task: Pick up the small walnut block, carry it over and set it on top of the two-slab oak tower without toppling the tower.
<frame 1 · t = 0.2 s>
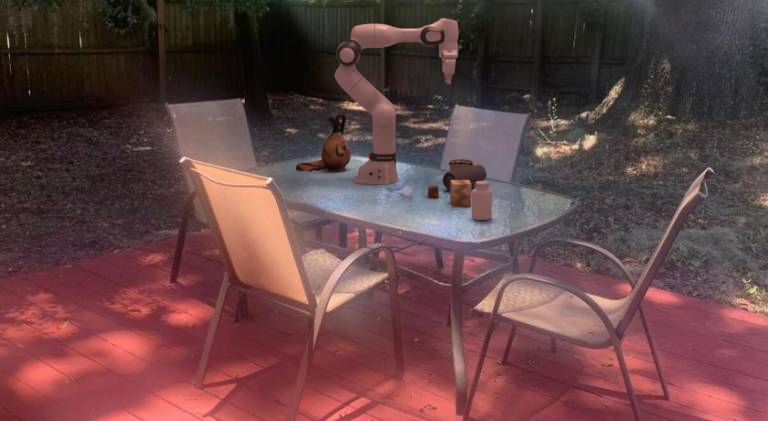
hand: (447, 83, 325), 48 cm above the table, tool pointing down, fingers open, 8 cm apart
pill bottle: (481, 219, 274), on the table
tower top: (460, 193, 294), point 5 cm above the table, touching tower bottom
sunglasses case: (314, 170, 366), on the table
brown half-round wedge: (460, 180, 338), on the table
ceramic jug: (337, 170, 363), on the table
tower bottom: (460, 204, 295), on the table, touching tower top
walnut block: (433, 197, 307), on the table
bluetooth speaker: (464, 188, 323), on the table
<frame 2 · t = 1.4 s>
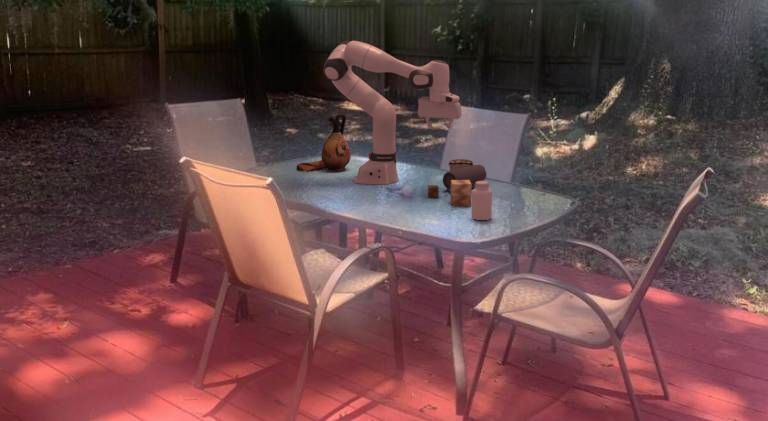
hand: (439, 127, 310), 30 cm above the table, tool pointing down, fingers open, 8 cm apart
nothing on the table moved.
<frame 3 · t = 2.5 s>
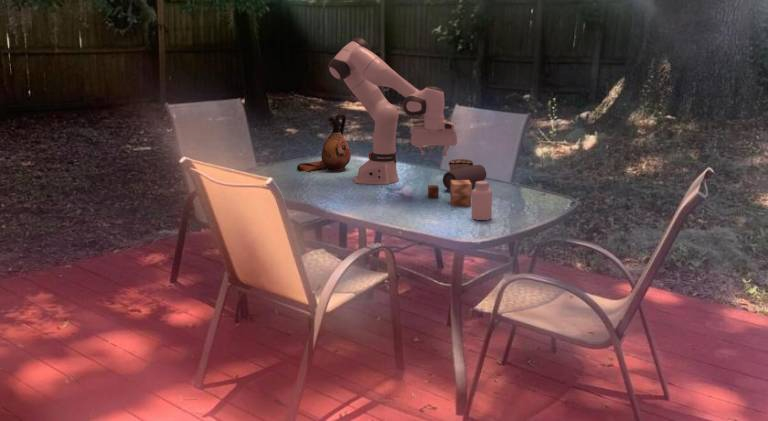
hand: (433, 155, 301), 19 cm above the table, tool pointing down, fingers open, 8 cm apart
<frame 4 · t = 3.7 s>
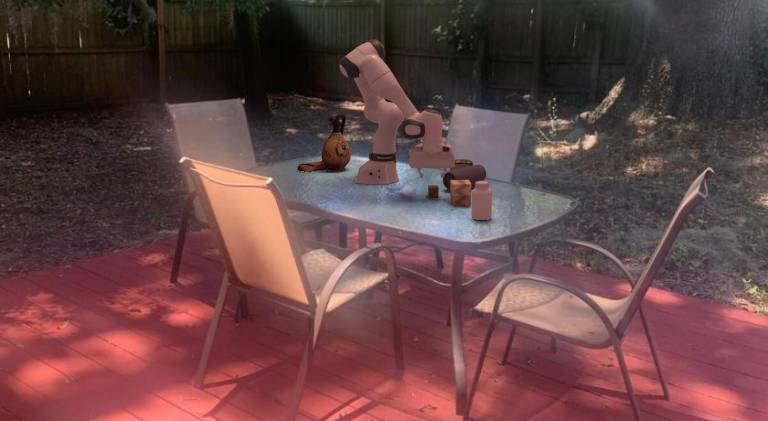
hand: (432, 177, 304), 9 cm above the table, tool pointing down, fingers open, 8 cm apart
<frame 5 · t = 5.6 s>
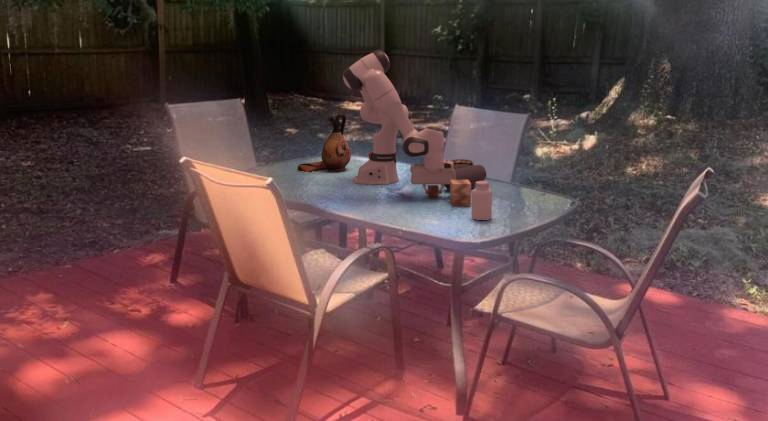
hand: (433, 193, 306), 2 cm above the table, tool pointing down, fingers closed on walnut block, 4 cm apart
walnut block: (433, 197, 307), on the table, touching gripper
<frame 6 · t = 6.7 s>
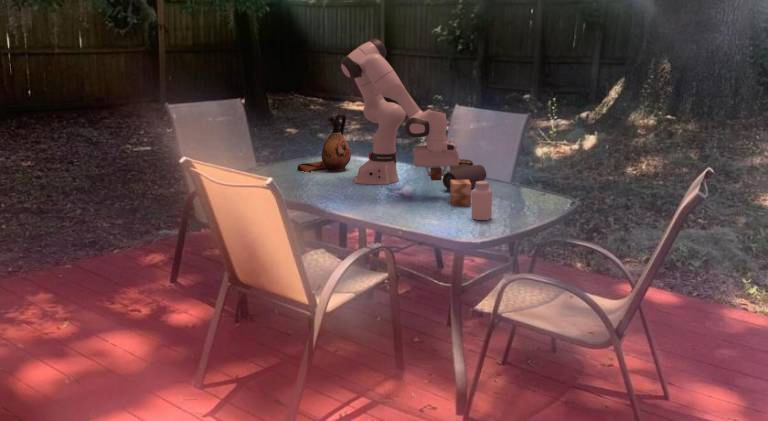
hand: (436, 175, 305), 10 cm above the table, tool pointing down, fingers closed on walnut block, 4 cm apart
walnut block: (435, 179, 305), point 8 cm above the table, touching gripper
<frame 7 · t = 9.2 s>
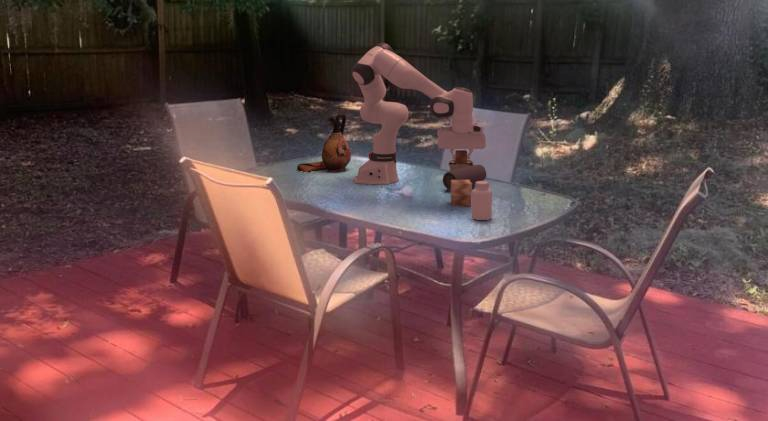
hand: (461, 159, 289), 20 cm above the table, tool pointing down, fingers closed on walnut block, 4 cm apart
walnut block: (461, 162, 290), point 18 cm above the table, touching gripper
when the fingers open (13 cm above the table, at t = 10.5 s): walnut block drops 2 cm, resting on tower top.
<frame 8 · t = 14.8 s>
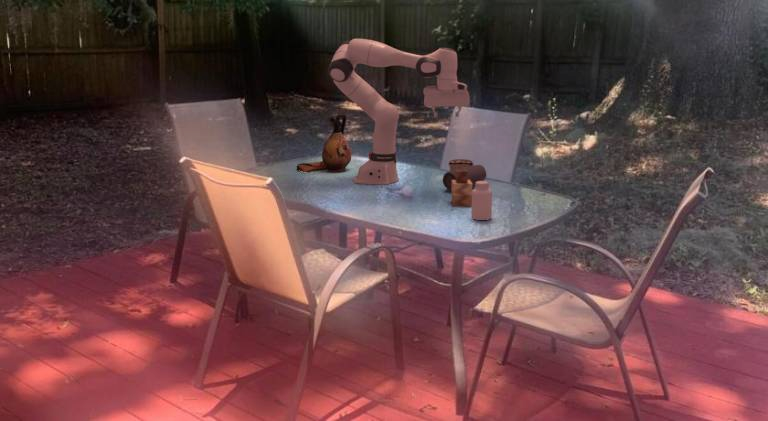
hand: (446, 116, 305), 35 cm above the table, tool pointing down, fingers open, 8 cm apart
tower top: (461, 193, 294), point 5 cm above the table, touching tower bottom, walnut block
walnut block: (461, 181, 293), point 10 cm above the table, touching tower top
at the end: walnut block 0.2 cm off-centre on the tower top, point 5.0 cm above the tower top's base; walnut block tilted 0°; tower top moved 0.6 cm from its start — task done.
